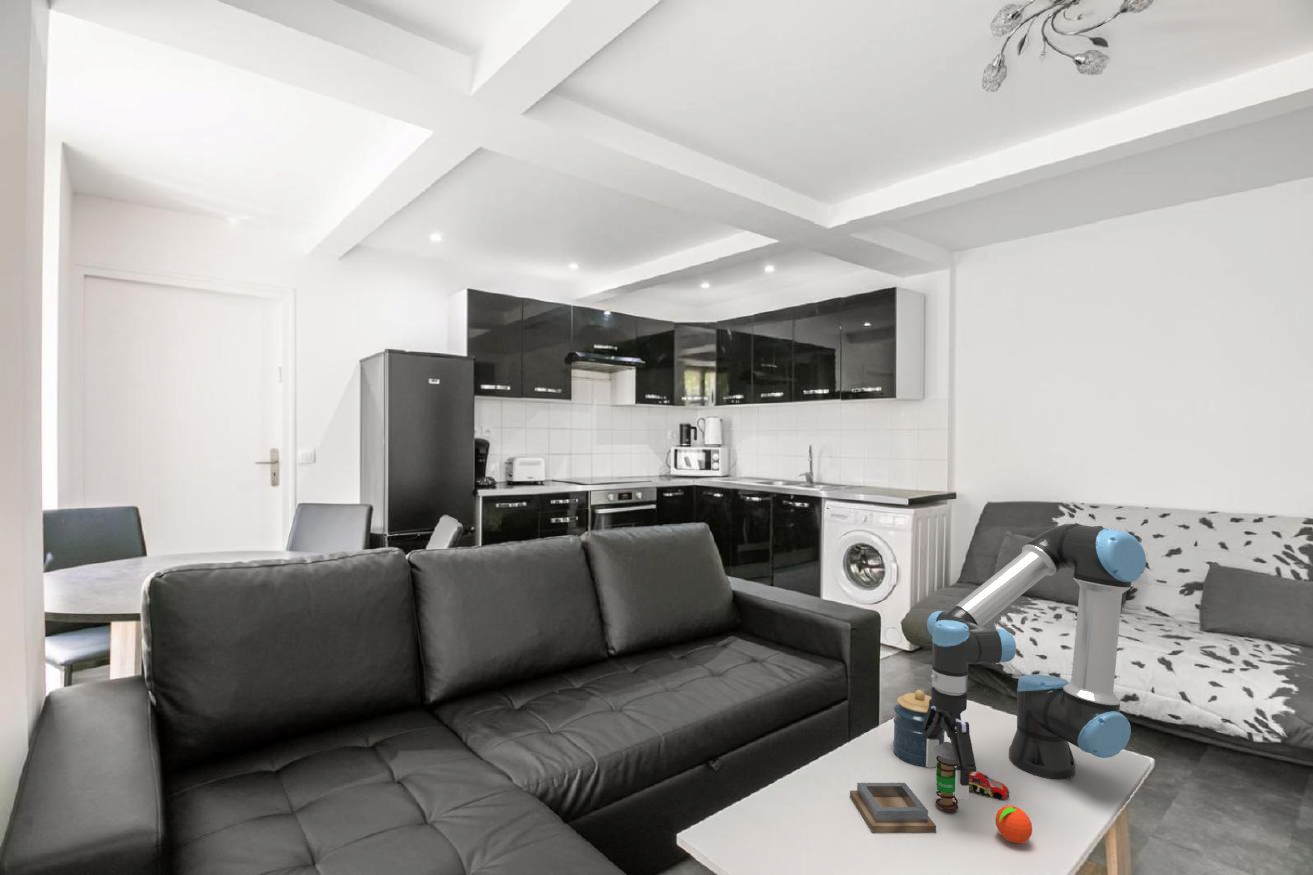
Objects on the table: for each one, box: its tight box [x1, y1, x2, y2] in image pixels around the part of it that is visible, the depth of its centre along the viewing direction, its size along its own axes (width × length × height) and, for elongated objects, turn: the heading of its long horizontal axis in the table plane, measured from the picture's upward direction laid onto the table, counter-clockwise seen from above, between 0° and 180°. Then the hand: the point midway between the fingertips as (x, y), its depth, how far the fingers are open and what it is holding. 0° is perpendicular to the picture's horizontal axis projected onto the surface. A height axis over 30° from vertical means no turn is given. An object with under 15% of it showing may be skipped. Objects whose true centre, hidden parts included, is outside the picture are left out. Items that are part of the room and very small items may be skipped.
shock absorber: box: [933, 741, 959, 812], centre depth 148 cm, size 6×6×15 cm
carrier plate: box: [849, 790, 937, 834], centre depth 145 cm, size 14×14×2 cm
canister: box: [892, 689, 946, 767], centre depth 173 cm, size 13×13×18 cm
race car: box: [969, 770, 1010, 801], centre depth 156 cm, size 13×5×4 cm, turn 59°
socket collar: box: [856, 782, 929, 823], centre depth 145 cm, size 12×12×2 cm
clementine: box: [995, 805, 1033, 844], centre depth 136 cm, size 8×7×7 cm
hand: (946, 781), depth 148 cm, fingers open, 13 cm apart
